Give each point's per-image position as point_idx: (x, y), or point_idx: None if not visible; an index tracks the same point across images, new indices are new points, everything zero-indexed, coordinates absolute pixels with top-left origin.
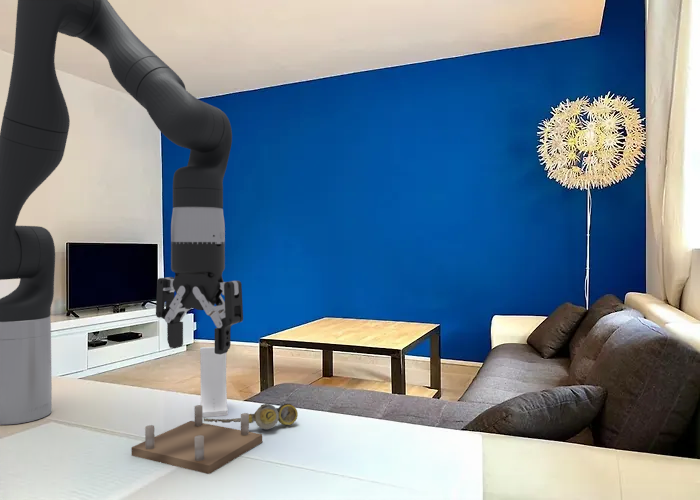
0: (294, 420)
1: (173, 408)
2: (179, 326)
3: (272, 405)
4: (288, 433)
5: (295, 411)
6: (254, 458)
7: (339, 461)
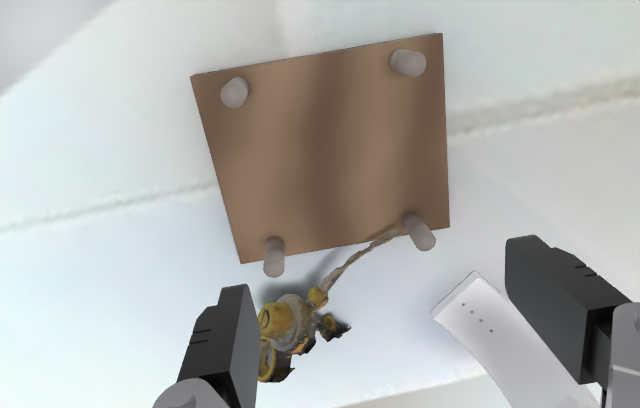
0: None
1: None
2: (565, 343)
3: (285, 351)
4: None
5: None
6: (187, 190)
7: (40, 276)
